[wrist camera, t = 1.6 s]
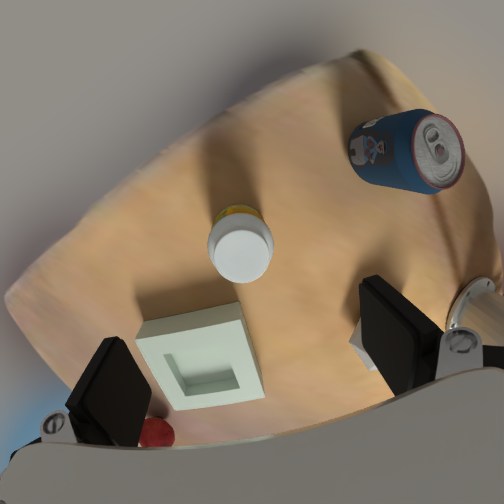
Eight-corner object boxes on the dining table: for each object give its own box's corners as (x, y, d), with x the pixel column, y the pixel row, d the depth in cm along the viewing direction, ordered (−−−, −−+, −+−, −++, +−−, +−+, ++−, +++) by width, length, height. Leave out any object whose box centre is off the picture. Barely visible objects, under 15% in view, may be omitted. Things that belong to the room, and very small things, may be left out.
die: (329, 335, 34) (367, 395, 29) (355, 298, 28) (405, 369, 22) (372, 313, 37) (408, 364, 32) (400, 275, 31) (445, 334, 25)
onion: (175, 409, 36) (168, 450, 29) (178, 430, 38) (173, 468, 30) (139, 404, 36) (127, 442, 28) (145, 425, 37) (136, 461, 30)
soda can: (406, 164, 28) (479, 170, 16) (364, 195, 29) (431, 215, 17) (376, 112, 26) (445, 93, 14) (331, 141, 27) (390, 129, 15)
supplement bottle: (255, 260, 30) (264, 301, 21) (206, 245, 29) (194, 281, 20) (272, 212, 28) (290, 233, 19) (222, 196, 28) (216, 210, 19)
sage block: (239, 301, 31) (240, 319, 27) (262, 376, 35) (265, 397, 31) (143, 321, 31) (134, 339, 27) (179, 390, 35) (175, 410, 31)
